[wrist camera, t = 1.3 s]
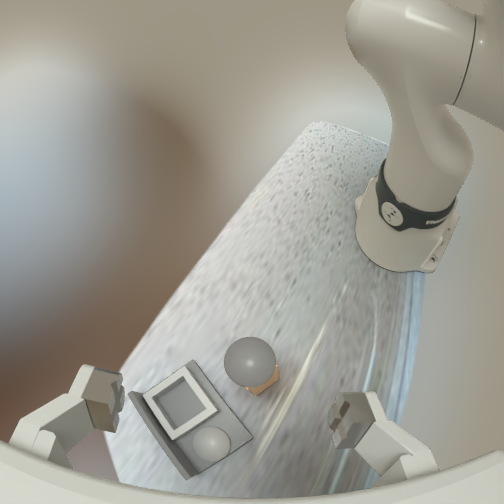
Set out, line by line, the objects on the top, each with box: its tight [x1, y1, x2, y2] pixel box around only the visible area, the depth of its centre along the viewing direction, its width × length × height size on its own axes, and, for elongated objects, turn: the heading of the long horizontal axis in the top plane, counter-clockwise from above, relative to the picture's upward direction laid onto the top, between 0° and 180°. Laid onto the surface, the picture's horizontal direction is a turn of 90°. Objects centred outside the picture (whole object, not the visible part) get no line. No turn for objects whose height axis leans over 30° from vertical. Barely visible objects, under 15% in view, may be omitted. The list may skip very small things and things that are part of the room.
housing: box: [128, 360, 253, 480], centre depth 37 cm, size 10×14×5 cm
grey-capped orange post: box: [224, 337, 279, 396], centre depth 36 cm, size 5×5×13 cm
